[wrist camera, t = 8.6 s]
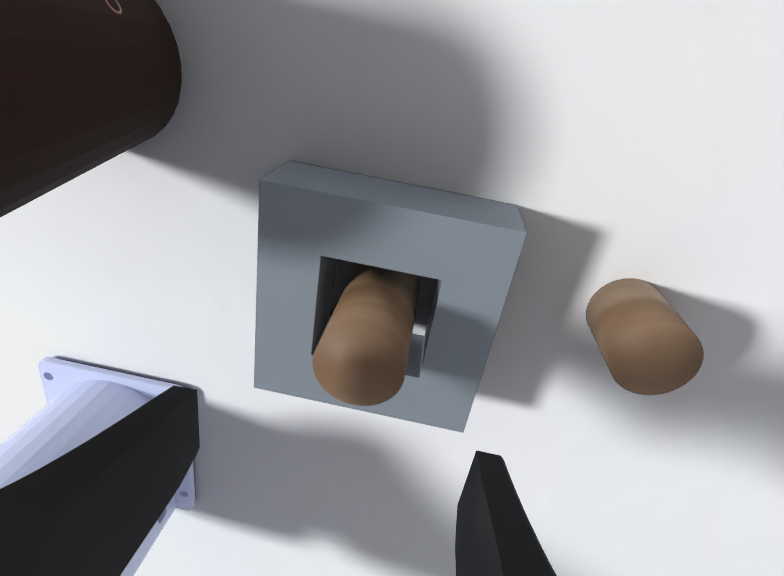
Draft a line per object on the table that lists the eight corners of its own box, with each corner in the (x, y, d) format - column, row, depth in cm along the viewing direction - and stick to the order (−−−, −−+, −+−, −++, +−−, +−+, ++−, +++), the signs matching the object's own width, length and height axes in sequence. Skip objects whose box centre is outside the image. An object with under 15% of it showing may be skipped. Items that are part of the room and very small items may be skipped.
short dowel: (645, 347, 20) (679, 402, 17) (575, 333, 20) (596, 385, 17) (676, 286, 19) (720, 334, 15) (601, 271, 19) (630, 315, 16)
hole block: (462, 386, 22) (463, 432, 19) (278, 347, 22) (254, 387, 20) (516, 205, 18) (527, 232, 15) (288, 160, 18) (259, 179, 16)
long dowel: (414, 319, 21) (400, 412, 15) (349, 309, 21) (311, 398, 16) (423, 258, 19) (410, 337, 14) (352, 248, 20) (312, 322, 14)
